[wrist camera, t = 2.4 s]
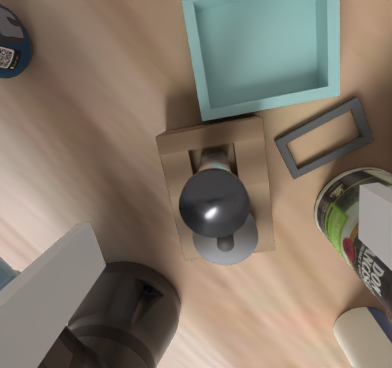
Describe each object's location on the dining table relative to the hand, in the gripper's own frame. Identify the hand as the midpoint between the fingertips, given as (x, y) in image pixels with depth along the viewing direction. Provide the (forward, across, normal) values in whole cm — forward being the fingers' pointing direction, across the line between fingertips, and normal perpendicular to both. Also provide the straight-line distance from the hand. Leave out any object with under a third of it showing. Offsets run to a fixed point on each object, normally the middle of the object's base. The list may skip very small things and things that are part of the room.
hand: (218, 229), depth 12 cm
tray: (+17, +6, +10) cm, 20 cm away
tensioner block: (+17, 0, -3) cm, 17 cm away
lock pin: (+15, 0, 0) cm, 15 cm away
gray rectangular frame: (+17, +12, 0) cm, 21 cm away
